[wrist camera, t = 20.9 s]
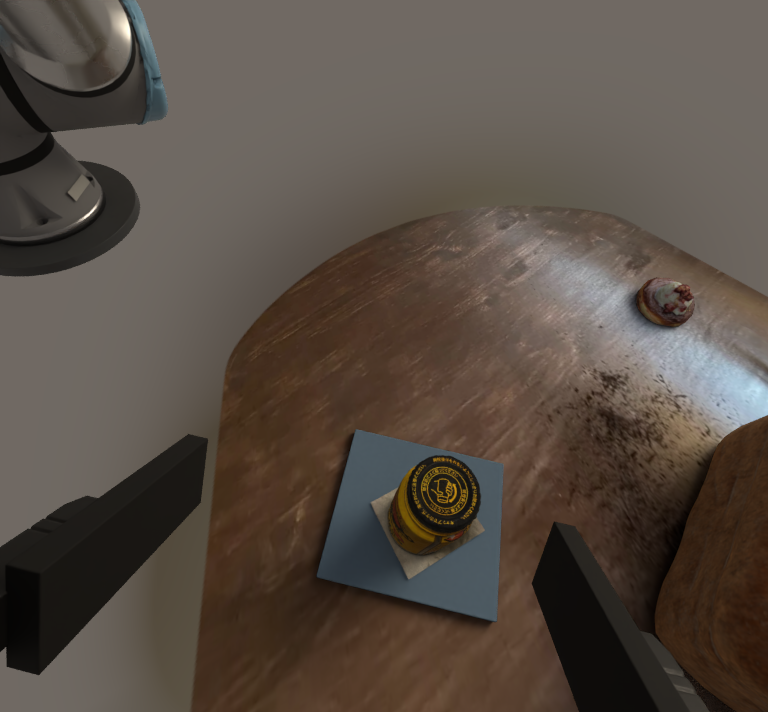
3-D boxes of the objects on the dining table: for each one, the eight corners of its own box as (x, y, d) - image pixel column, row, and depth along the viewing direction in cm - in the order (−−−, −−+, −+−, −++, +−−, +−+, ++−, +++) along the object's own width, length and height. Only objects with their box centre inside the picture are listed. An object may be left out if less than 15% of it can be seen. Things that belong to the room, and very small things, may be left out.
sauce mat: (316, 577, 34) (316, 576, 34) (355, 431, 42) (355, 428, 41) (494, 621, 34) (497, 622, 33) (501, 465, 41) (503, 463, 40)
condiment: (370, 503, 37) (379, 467, 27) (442, 463, 40) (476, 417, 30) (408, 579, 34) (435, 572, 24) (484, 531, 37) (537, 505, 27)
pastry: (654, 332, 53) (681, 309, 49) (622, 291, 57) (644, 267, 52) (699, 321, 55) (729, 298, 51) (665, 282, 59) (690, 258, 54)
